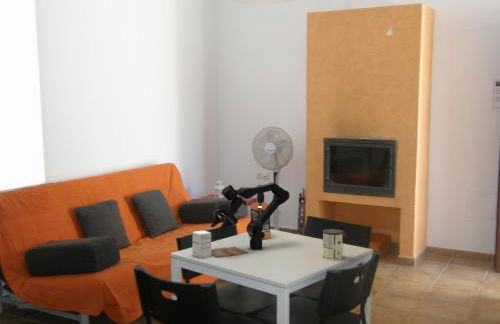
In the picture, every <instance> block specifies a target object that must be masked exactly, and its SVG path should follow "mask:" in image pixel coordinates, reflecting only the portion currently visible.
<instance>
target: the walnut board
mask: <svg viewBox="0 0 500 324" xmlns="http://www.w3.org/2000/svg"><path fill="white" fill-rule="evenodd" d="M245 254H246V255H248V254H249V251H247V250H244V249H243V248H240V247H237V246H235V245H234V246H228V247H221V248H213V249H212V248H211V256H213V257H214V258H217V259H218V258H225V257H231V256H238V255H245Z"/></svg>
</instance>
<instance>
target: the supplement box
mask: <svg viewBox="0 0 500 324" xmlns="http://www.w3.org/2000/svg"><path fill="white" fill-rule="evenodd" d="M211 250H212V233H211V232H210V231H206V230H198V231H197V230H196V231H192V256H194V257H196V258H199V259H202V258H210V257H211V256H212V255H211Z"/></svg>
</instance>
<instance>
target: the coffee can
mask: <svg viewBox="0 0 500 324" xmlns="http://www.w3.org/2000/svg"><path fill="white" fill-rule="evenodd" d="M322 233H323V234H322V241H323V242H322V258H323V259H325V260H328V261H337V260H342V259H343V258H344V257H343V254H344V253H343V247H344V246H343V243H344V242H343V241H344V235H343V234H344V230H342V229H338V228H327V229H323V230H322Z"/></svg>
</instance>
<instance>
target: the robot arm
mask: <svg viewBox="0 0 500 324" xmlns="http://www.w3.org/2000/svg"><path fill="white" fill-rule="evenodd" d="M259 185H260V186H258V185H257V186H252V187H250V186H241V187H239V188H238V189H235V188H234V186H233V185H232V184H228V185H227V186H225V187H224V188H223V189H222V190H221V191H220V194H221V195H222V196H223V197H224V198H225V199H226V200H227V201H230V202H229V203H227V202H219V201H217V202H216V204H215V206H214V208H216V209H214V210H213V211H212V212H213V213H212V214H213V220H212V223H211V224H210V228H211V229H213V228H215V227H216V226H217V225H218V224H220V223H221V222H222V224H221V225H220V227H218V230H219V231H220V232H222V231H223V230H225V229H227V228H230V227H232V226H234V225H237V224H238V223H239V219H238V218H237V217H236V216H235V214H238V213H239V212H238V210H239V209H240V208H241V207H242V206H245V207H246V206H247V200H249V199H251V198H253V197H254V196H257V194H260V193H264V194H265V193H267V192H271V193H272V194H273V196H272V200H271V201H270V203H268V204H269V205H268V206H267V207H266V209H265V210H264V211H263V212H262V213H261V215H260V216H259V217H258V218H257V219H256V220H253V219H252V220H251V219H250V220H249V222H248V223H247V226H246V228H245V229H246V233H247V235H248V236H251V238H250V239H249V248H250V250H263V240H262V238H264V237H265V234H264V233H263V232H262V230H263V226H264V223H265V222H266V221H267V220H268V219H269V217H270V218H271V216H272V215H273V214H274V213H275V211H276V210H277V209H278V208H279V207H280V206H281V205H282V204H285V203H286V202H287V201H288V200H289V199H290V197H291V196H290V192H289V191H288V190H285V189H284V188H282V186H280V185H278V184H277V183H275V182H269V183H266V184H259ZM244 199H246V200H244Z"/></svg>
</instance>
